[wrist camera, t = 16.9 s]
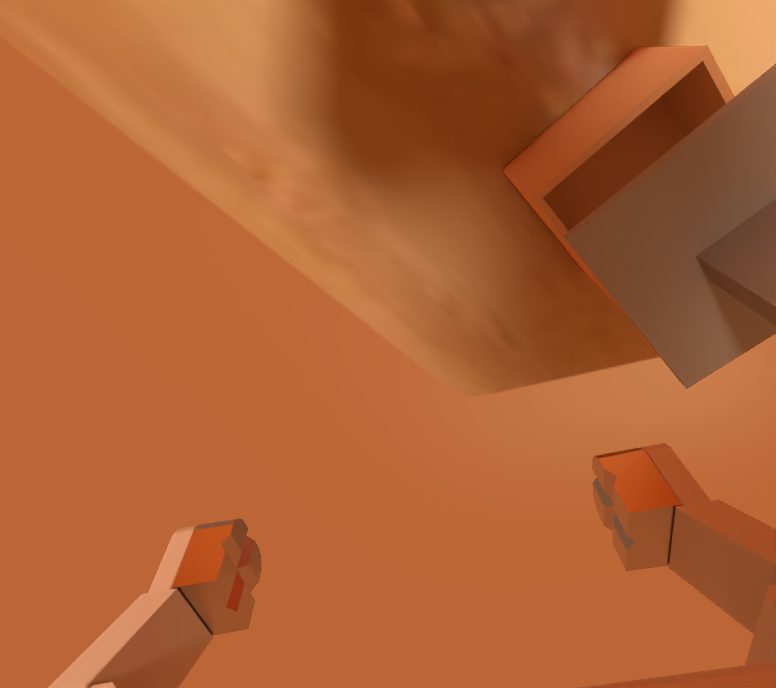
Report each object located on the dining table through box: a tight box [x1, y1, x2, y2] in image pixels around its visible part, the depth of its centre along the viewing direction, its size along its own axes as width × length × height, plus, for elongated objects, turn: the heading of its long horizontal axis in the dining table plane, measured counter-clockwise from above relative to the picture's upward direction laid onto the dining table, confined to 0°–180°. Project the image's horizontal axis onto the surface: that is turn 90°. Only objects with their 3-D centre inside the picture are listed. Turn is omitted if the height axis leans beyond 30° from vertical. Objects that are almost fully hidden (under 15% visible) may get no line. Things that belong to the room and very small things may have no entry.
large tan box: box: [502, 46, 734, 316], centre depth 41 cm, size 14×14×10 cm
